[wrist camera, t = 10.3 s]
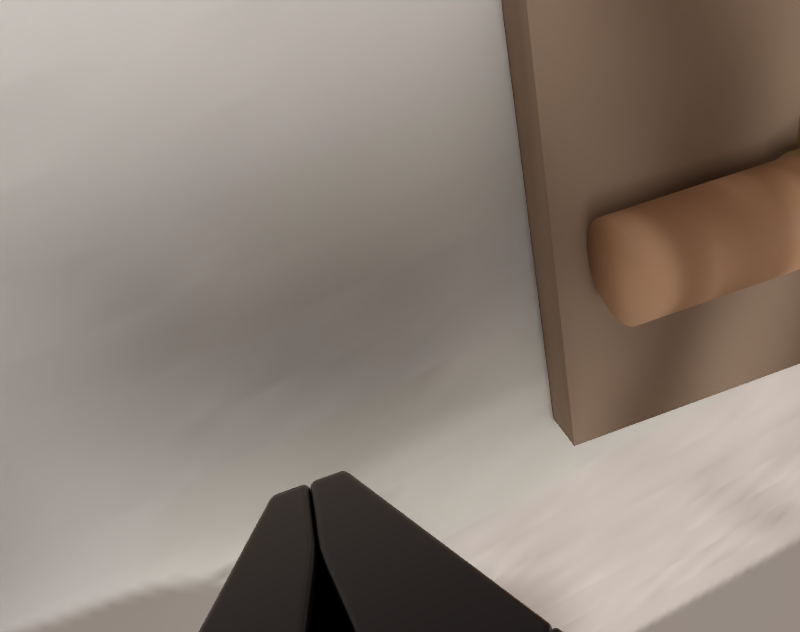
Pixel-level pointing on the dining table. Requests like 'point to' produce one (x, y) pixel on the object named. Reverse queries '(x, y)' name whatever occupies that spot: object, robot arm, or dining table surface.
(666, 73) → the valve stand
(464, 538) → the dining table surface
